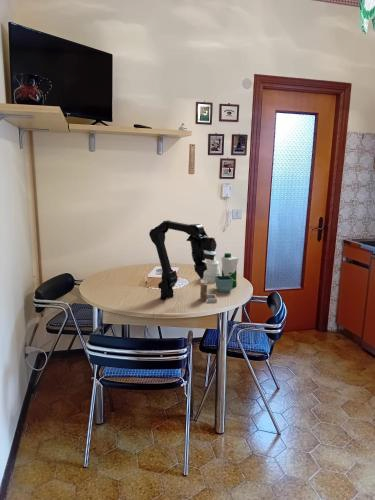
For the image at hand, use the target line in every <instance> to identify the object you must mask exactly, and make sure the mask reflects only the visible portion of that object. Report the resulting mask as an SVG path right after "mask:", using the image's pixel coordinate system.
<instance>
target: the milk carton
mask: <svg viewBox="0 0 375 500" xmlns="http://www.w3.org/2000/svg"><path fill="white" fill-rule="evenodd" d="M220 259H221V276H230V277H231V278H232V279H233V285H232V288H235V287H237V286H238V285H237V284H238V283H237V272H238V262H239V257H236V256H233V255H232V254H231V253H230V252H229V253H228V252H224V256H220Z"/></svg>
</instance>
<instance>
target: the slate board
mask: <svg viewBox="0 0 375 500" xmlns="http://www.w3.org/2000/svg"><path fill="white" fill-rule="evenodd" d="M207 303H218V298H217V294H215V293H214V294H213V293H212V294H210V293H207Z"/></svg>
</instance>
